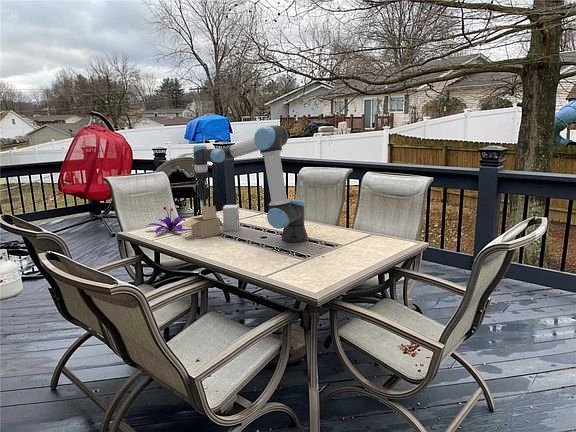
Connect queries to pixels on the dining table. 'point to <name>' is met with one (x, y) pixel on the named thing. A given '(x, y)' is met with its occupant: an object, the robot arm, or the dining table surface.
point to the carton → (206, 227)
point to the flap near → (209, 212)
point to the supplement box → (231, 217)
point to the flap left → (190, 222)
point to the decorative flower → (169, 223)
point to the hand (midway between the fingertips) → (204, 210)
